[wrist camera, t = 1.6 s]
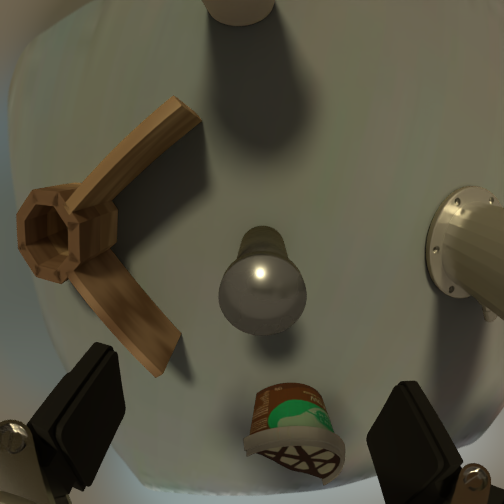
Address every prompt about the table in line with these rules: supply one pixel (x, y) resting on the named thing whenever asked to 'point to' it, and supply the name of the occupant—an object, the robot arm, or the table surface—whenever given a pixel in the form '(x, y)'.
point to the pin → (262, 285)
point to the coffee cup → (239, 11)
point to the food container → (295, 431)
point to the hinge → (105, 237)
